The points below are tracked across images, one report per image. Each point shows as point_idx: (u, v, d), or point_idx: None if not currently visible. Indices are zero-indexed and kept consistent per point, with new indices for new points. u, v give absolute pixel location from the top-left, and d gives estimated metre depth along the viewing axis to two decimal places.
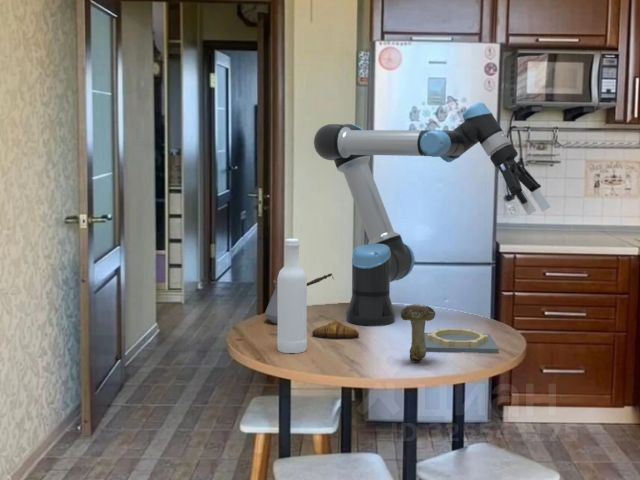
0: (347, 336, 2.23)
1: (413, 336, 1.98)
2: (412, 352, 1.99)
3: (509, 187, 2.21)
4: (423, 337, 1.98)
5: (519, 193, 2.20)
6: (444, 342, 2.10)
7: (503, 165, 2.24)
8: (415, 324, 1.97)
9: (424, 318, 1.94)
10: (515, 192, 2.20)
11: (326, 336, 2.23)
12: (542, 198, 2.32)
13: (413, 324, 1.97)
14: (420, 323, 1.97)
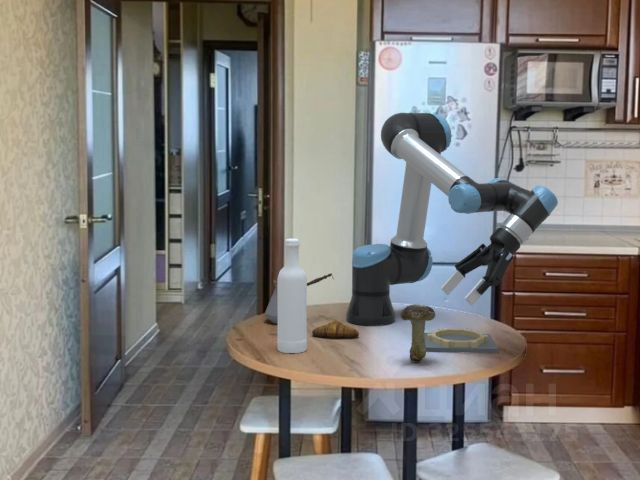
0: (347, 336, 2.22)
1: (413, 336, 1.98)
2: (412, 352, 1.99)
3: (496, 274, 1.92)
4: (423, 337, 1.98)
5: (489, 285, 1.93)
6: (444, 342, 2.10)
7: (510, 256, 1.96)
8: (415, 324, 1.97)
9: (424, 318, 1.94)
10: (491, 282, 1.92)
11: (326, 336, 2.23)
12: (455, 284, 2.07)
13: (413, 324, 1.97)
14: (421, 323, 1.97)
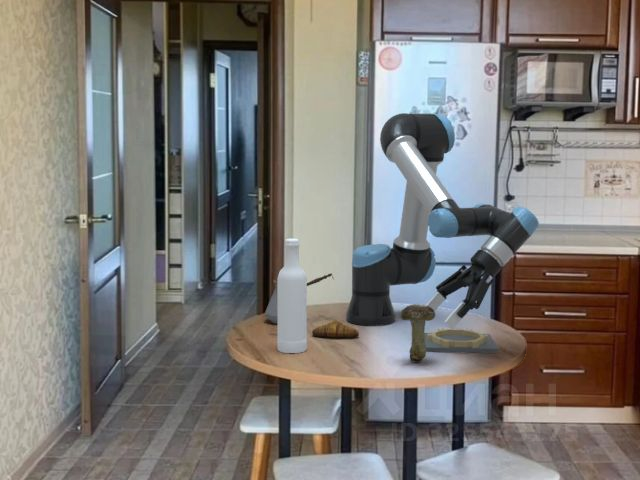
0: (347, 336, 2.22)
1: (413, 336, 1.98)
2: (412, 352, 1.99)
3: (476, 298, 1.90)
4: (423, 337, 1.98)
5: (469, 308, 1.92)
6: (444, 342, 2.10)
7: (491, 279, 1.94)
8: (415, 324, 1.97)
9: (424, 318, 1.94)
10: (471, 305, 1.91)
11: (326, 335, 2.23)
12: (436, 306, 2.05)
13: (413, 324, 1.97)
14: (420, 323, 1.97)
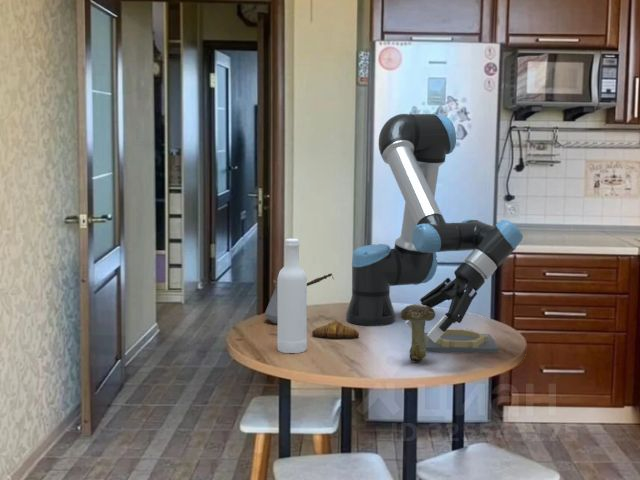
0: (347, 336, 2.22)
1: (413, 336, 1.98)
2: (412, 352, 1.99)
3: (458, 311, 1.90)
4: (423, 337, 1.98)
5: (451, 322, 1.92)
6: (444, 342, 2.10)
7: (474, 292, 1.94)
8: (415, 324, 1.97)
9: (424, 318, 1.94)
10: (453, 319, 1.91)
11: (326, 336, 2.23)
12: None
13: (413, 324, 1.97)
14: (420, 323, 1.97)
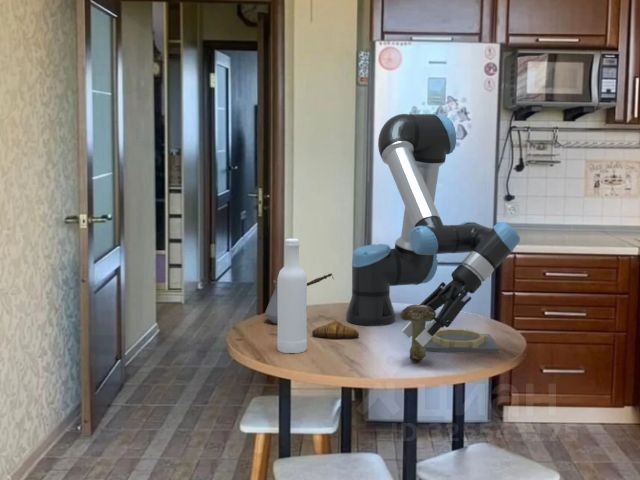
0: (347, 336, 2.22)
1: (413, 336, 1.97)
2: (412, 352, 1.98)
3: (447, 316, 1.92)
4: None
5: (439, 326, 1.94)
6: (444, 342, 2.10)
7: (467, 298, 1.94)
8: (415, 325, 1.97)
9: (424, 319, 1.94)
10: (441, 323, 1.93)
11: (326, 336, 2.23)
12: None
13: (413, 324, 1.97)
14: (421, 323, 1.96)
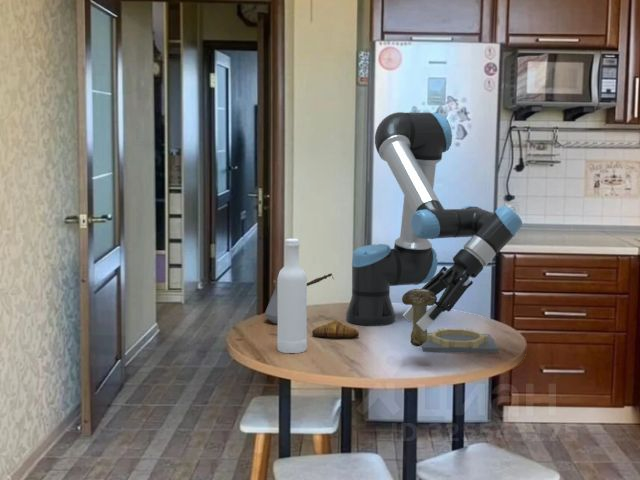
0: (347, 336, 2.22)
1: (414, 321, 1.96)
2: (413, 336, 1.98)
3: (448, 301, 1.91)
4: None
5: (441, 310, 1.93)
6: (444, 342, 2.10)
7: (469, 282, 1.93)
8: (417, 309, 1.96)
9: (426, 303, 1.93)
10: (443, 308, 1.92)
11: (326, 336, 2.23)
12: None
13: (414, 309, 1.96)
14: (422, 308, 1.95)
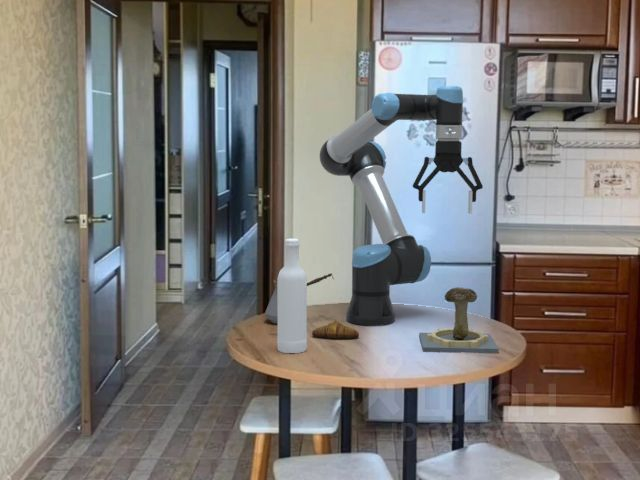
0: (347, 337, 2.22)
1: (456, 316, 2.14)
2: (455, 331, 2.15)
3: None
4: (465, 317, 2.14)
5: None
6: (444, 342, 2.10)
7: (424, 159, 2.29)
8: (458, 306, 2.13)
9: (467, 300, 2.11)
10: (415, 188, 2.31)
11: (326, 336, 2.22)
12: (469, 202, 2.30)
13: (456, 305, 2.14)
14: (463, 304, 2.13)
